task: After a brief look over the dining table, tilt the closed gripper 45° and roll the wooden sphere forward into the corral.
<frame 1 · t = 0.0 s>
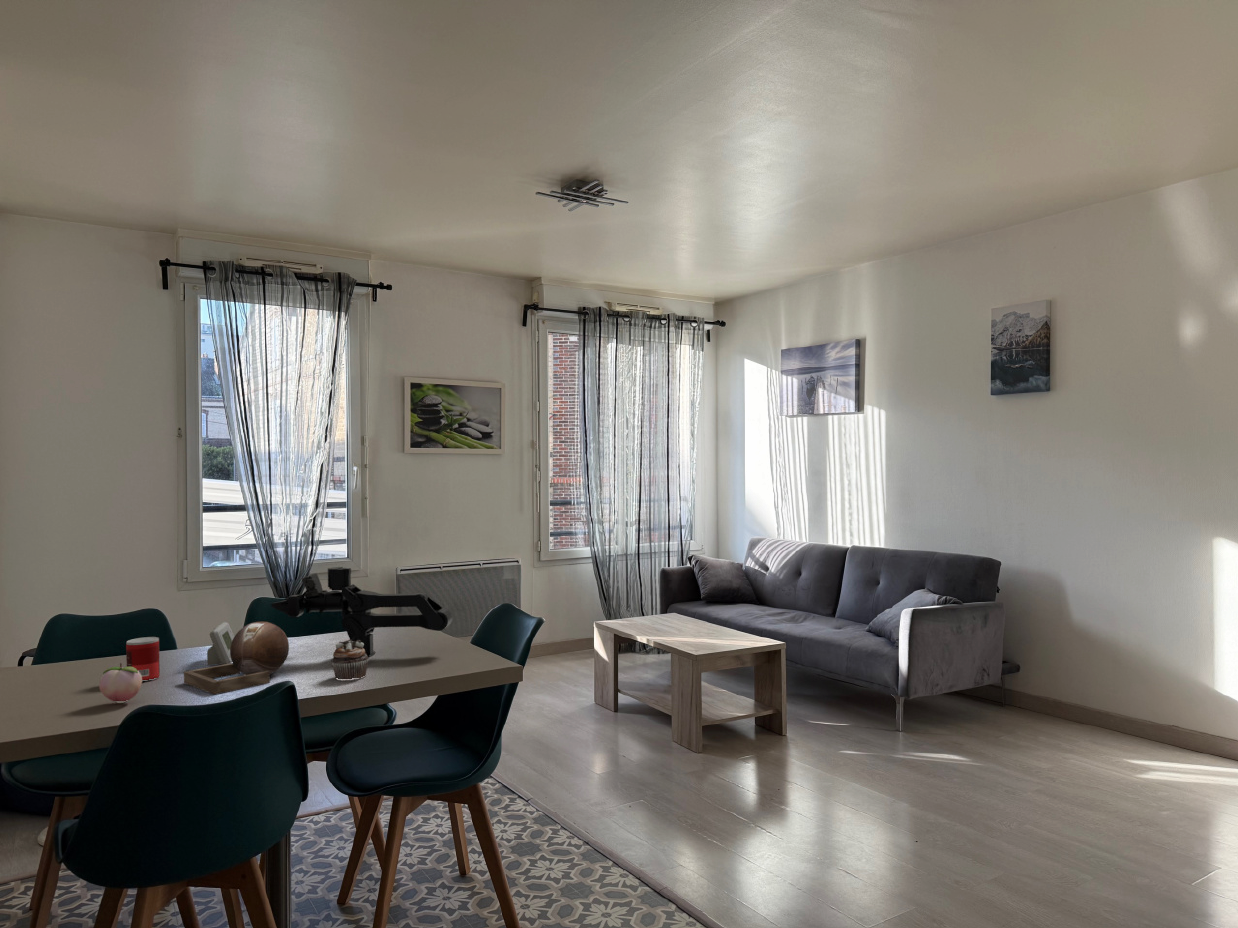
hand: (278, 602, 262), 17 cm above the table, tool horizontal, fingers open, 9 cm apart
decorative fruit: (122, 704, 212), on the table
canned food: (143, 680, 237), on the table
digital clock: (225, 661, 258), on the table
wooden sphere: (260, 676, 237), on the table
corral: (227, 682, 231), on the table
cupcake: (350, 678, 234), on the table
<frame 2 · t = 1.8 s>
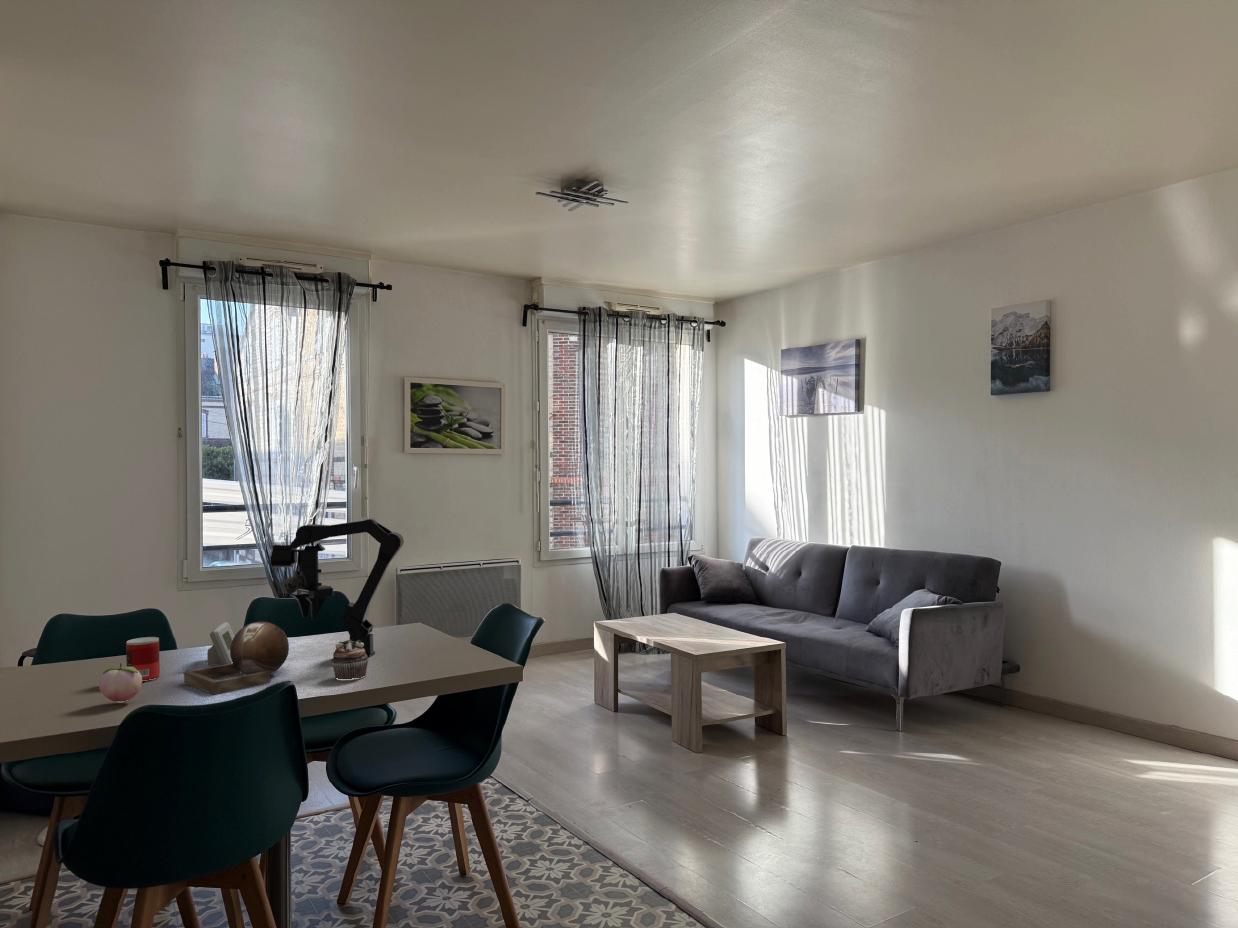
hand: (309, 618, 259), 12 cm above the table, tool pointing down, fingers open, 5 cm apart
nothing on the table moved.
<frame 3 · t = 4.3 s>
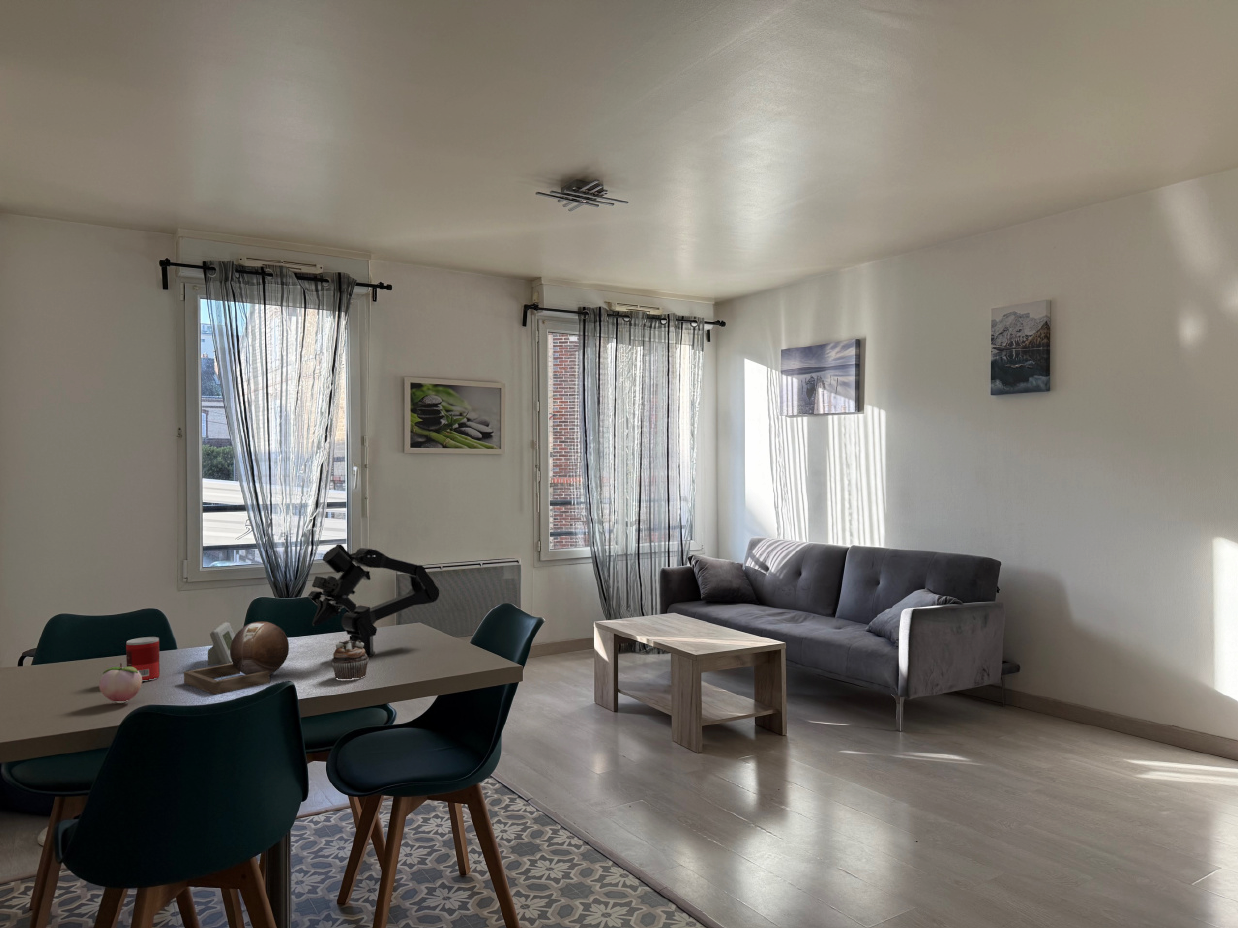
hand: (313, 625, 250), 12 cm above the table, tool tilted 45°, fingers closed
nothing on the table moved.
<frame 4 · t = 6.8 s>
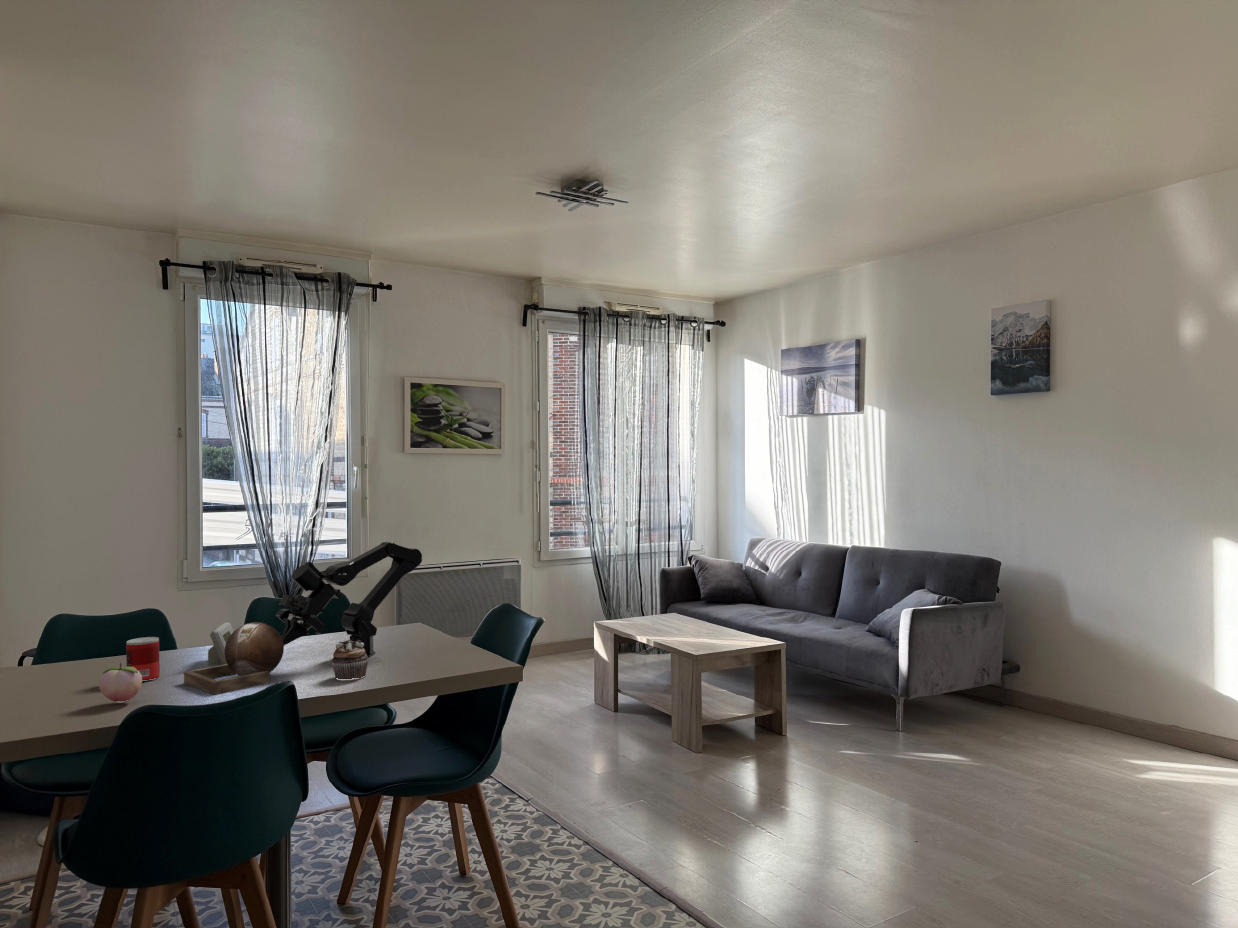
hand: (280, 645, 242), 7 cm above the table, tool tilted 45°, fingers closed, pressing on wooden sphere
wooden sphere: (255, 677, 236), on the table, touching gripper
everything else where it was.
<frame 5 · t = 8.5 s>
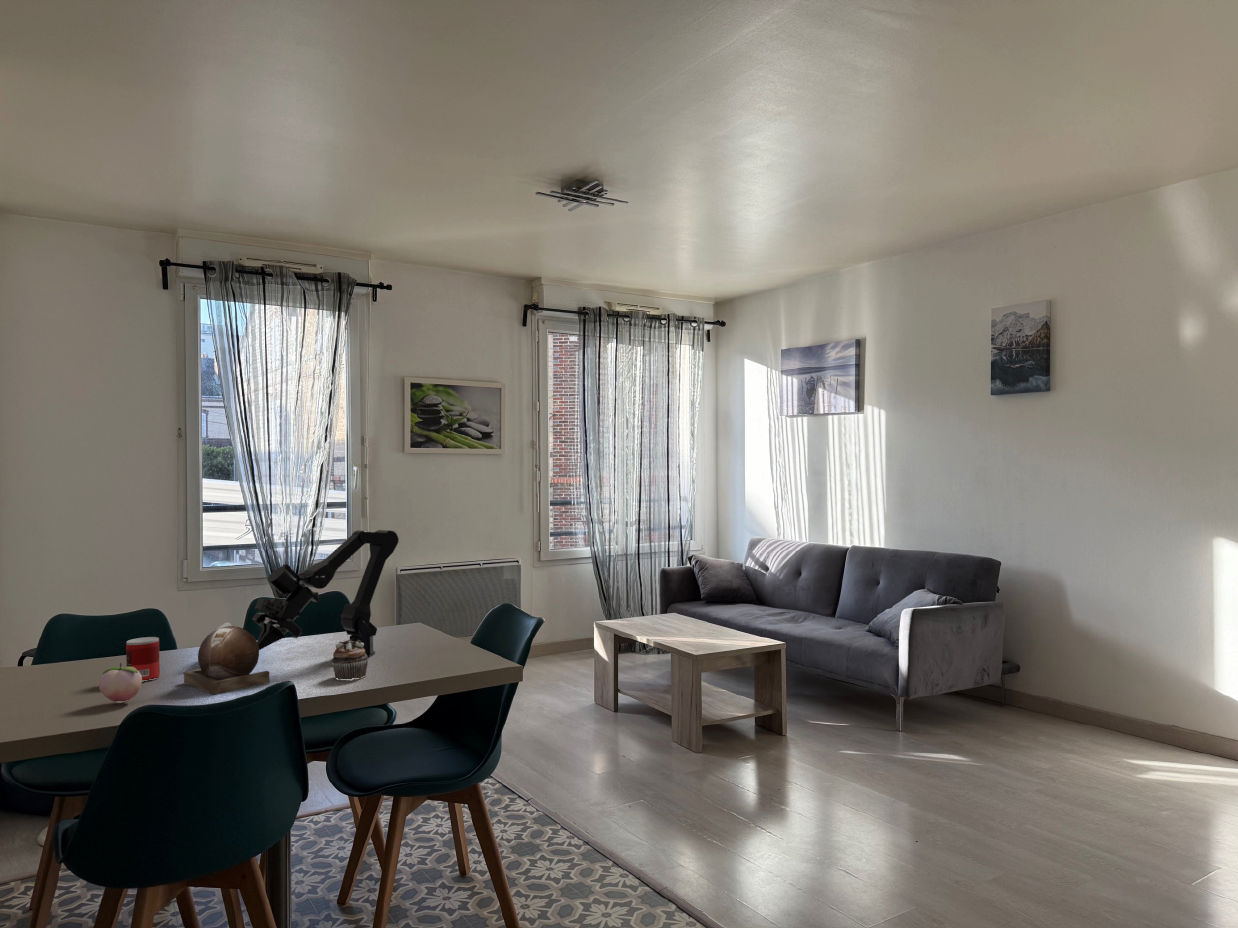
hand: (255, 649, 237), 7 cm above the table, tool tilted 45°, fingers closed, pressing on wooden sphere
wooden sphere: (229, 683, 231), on the table, touching gripper
everything else where it was.
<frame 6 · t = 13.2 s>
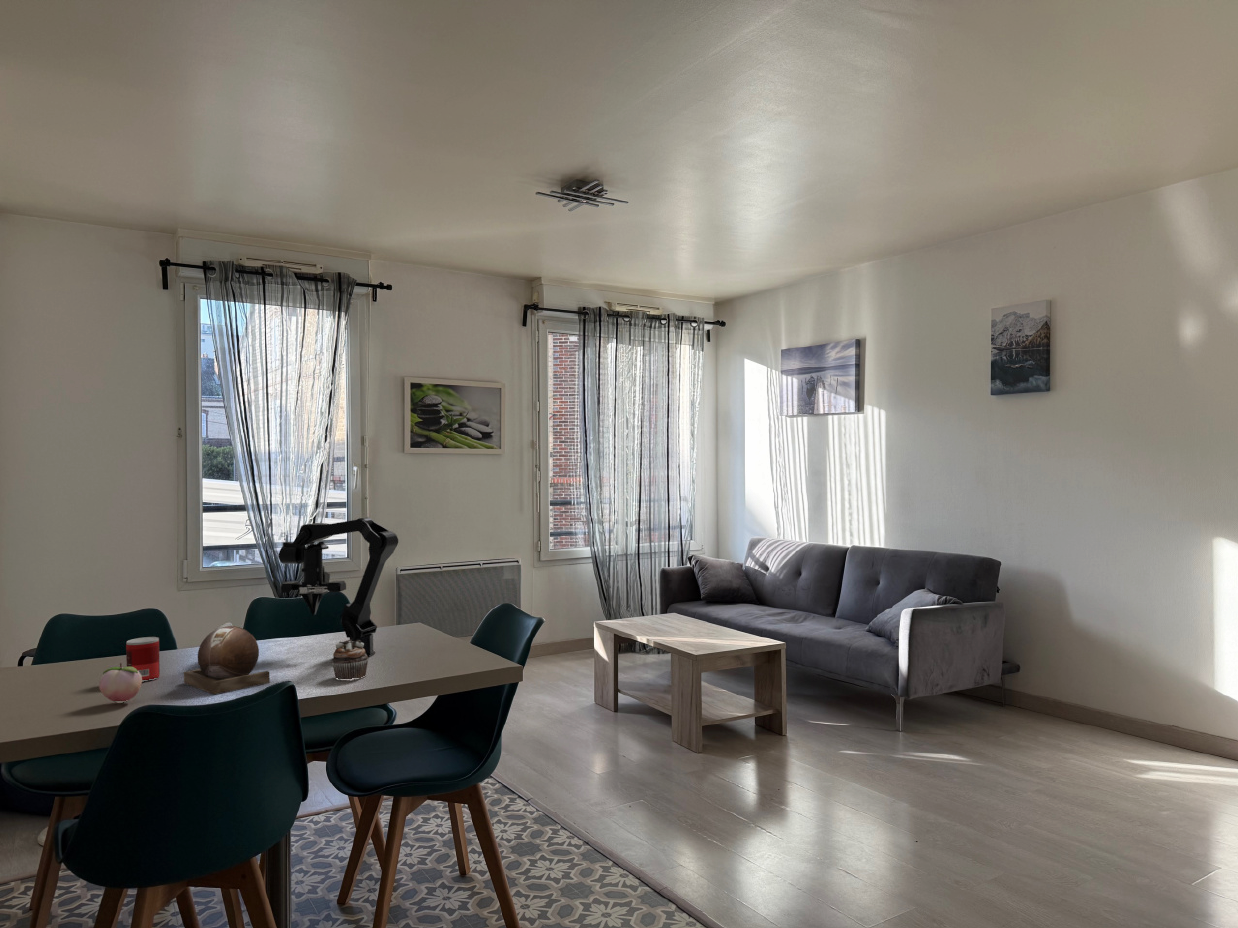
hand: (313, 614, 265), 12 cm above the table, tool pointing down, fingers closed
wooden sphere: (229, 683, 231), on the table
at the end: wooden sphere inside the target area on the corral (0.4 cm from its centre), point 0.0 cm above the corral's base; wooden sphere moved 8.6 cm from its start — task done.
